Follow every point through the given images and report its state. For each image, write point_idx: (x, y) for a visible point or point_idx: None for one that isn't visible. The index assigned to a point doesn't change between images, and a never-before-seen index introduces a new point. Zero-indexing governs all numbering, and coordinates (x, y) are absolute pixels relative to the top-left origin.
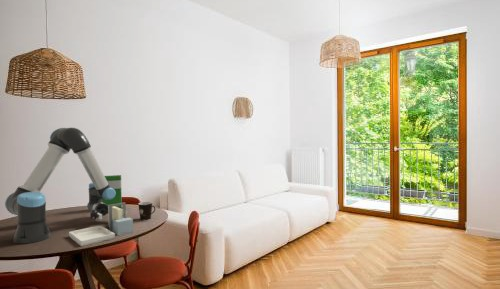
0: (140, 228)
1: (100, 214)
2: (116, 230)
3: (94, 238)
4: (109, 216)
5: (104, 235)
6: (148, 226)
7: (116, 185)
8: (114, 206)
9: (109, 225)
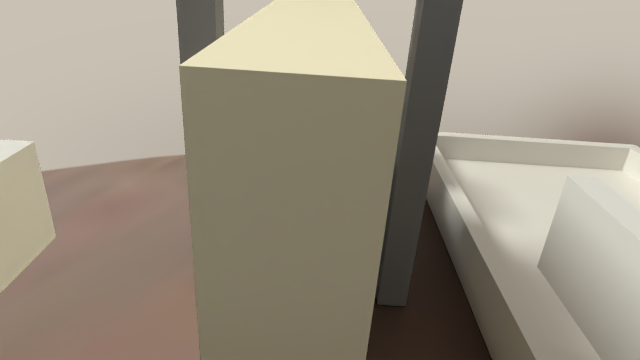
0: (148, 191)
1: (620, 202)
2: None
3: (553, 141)
4: (436, 118)
5: (480, 195)
6: (61, 188)
7: None
8: (281, 10)
9: (415, 241)
